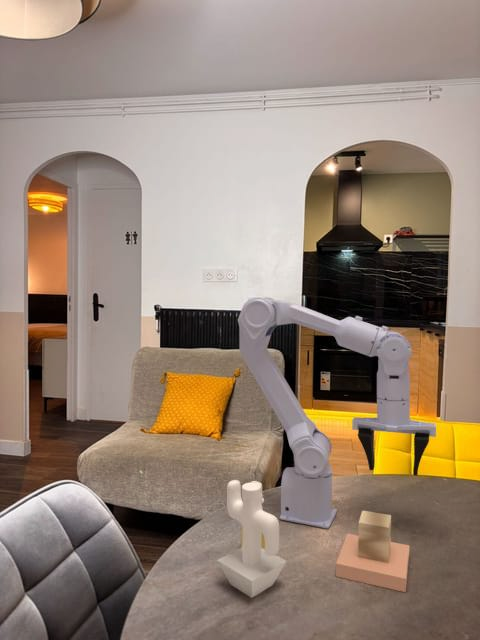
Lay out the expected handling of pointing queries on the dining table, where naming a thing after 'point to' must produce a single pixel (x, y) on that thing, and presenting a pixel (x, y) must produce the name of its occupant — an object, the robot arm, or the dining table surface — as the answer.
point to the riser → (374, 566)
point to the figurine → (252, 541)
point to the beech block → (374, 536)
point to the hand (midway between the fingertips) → (393, 471)
